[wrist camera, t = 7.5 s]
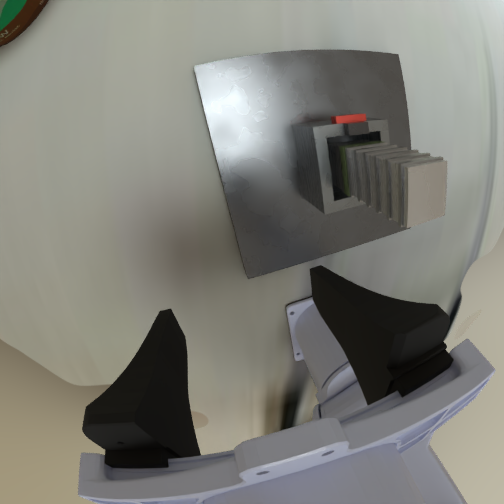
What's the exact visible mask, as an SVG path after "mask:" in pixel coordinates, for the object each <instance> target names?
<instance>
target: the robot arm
mask: <svg viewBox="0 0 504 504" xmlns="http://www.w3.org/2000/svg"><path fill="white" fill-rule="evenodd" d="M310 276H311V286H312V297H311V298H308V299H305V300H302V301H299V302H296V303H293V304H290V305H288V306H287V307H286V312H287V318H288V323H289V329H290V335H291V341H292V347H293V353H294V358H295V360H296V361H300V360H303V359H304V361H305V363H306V366H307V368H308V370H309V372H310V374H311V377H312V379H313V381H314V383H315V385H316V388H317V390H318V393H316V397H317V399H318V401H319V404H317V405H316V406H315V407H314V409H313V417H312V421H310V422H307V423H305V424H302V425H299V426H295V427H292V428H289V429H286V430H282V431H279V432H276V433H272V434H268V435H265V436H261V437H257V438H253V439H250V440H247V441H244V442H242V443H241V444H239V445H238V446H236V447H235V448H234V450H231V451H226V452H220V453H214V454H208V455H201V454H200V450H199V447H198V443H197V439H196V435H195V430H194V426H193V421H192V415H191V410H190V404H189V397H188V361H187V346H186V339H185V335H184V333H183V331H182V330H181V328H180V326H179V324H178V322H177V320H176V318H175V316H174V314H173V312H172V310H171V309H167V310H163V311H160V312H159V314H158V316H157V317H156V319H155V321H154V323H153V325H152V327H151V329H150V331H149V333H148V335H147V336H146V338H145V340H144V342H143V343H142V345H141V347H140V348H139V350H138V352H137V353H136V355H135V357H134V358H133V359H132V361H131V362H130V364H129V365H128V366H127V368H126V369H125V370H124V371H123V373H122V374H121V375H120V376H119V377H118V378H117V380H116V381H115V382H114V383H113V384H112V385H111V386H110V387H109V388H108V389H107V390H106V391H105V392H104V393H103V394H102V395H100V396H99V397H98V398H97V399H95V400H94V401H93V402H92V403H90V404H89V405H88V406H87V407H86V409H85V415H84V421H83V427H82V430H83V432H84V434H85V435H86V437H88V438H89V439H90V440H92V441H93V442H94V443H96V444H98V445H99V446H101V447H102V448H103V449H105V455H102V454H97V453H81V458H80V469H79V486H78V487H79V488H78V495H79V496H80V497H82V498H85V499H87V500H90V501H92V502H95V503H98V504H467V503H466V501H465V499H464V498H463V496H462V494H461V493H460V491H459V490H458V488H457V486H456V485H455V483H454V482H453V480H452V478H451V477H450V475H449V474H448V472H447V471H446V469H445V467H444V466H443V464H442V463H441V461H440V460H439V458H438V457H437V455H436V454H435V452H434V451H433V449H432V448H431V446H430V445H429V442H430V440H431V438H432V435H433V433H434V431H435V430H437V429H438V428H439V427H441V426H442V425H443V424H444V423H446V422H447V421H448V420H449V419H451V418H452V417H453V416H455V415H456V414H457V413H458V412H459V411H461V410H462V409H463V408H464V407H465V406H467V405H468V404H469V403H470V402H471V401H472V400H474V399H475V398H476V397H477V395H478V394H479V393H480V392H481V390H482V389H483V388H484V386H485V385H486V384H487V382H488V381H489V380H490V378H491V377H492V375H493V374H494V373H495V368H494V367H493V366H492V365H491V364H490V363H489V361H488V360H487V359H486V358H485V357H484V356H483V355H482V353H480V351H479V350H478V349H477V348H476V347H475V346H474V345H473V343H472V342H470V340H469V339H466V340H464V341H463V342H462V343H460V344H459V345H457V346H456V347H455V348H453V349H452V350H451V351H450V353H448V352H447V351H446V350H445V349H446V348H447V346H446V344H445V343H444V342H443V340H444V337H445V335H446V332H447V330H448V327H449V322H450V318H449V316H448V315H447V314H446V313H445V312H444V311H443V310H442V309H441V308H440V307H439V306H438V305H437V304H426V303H416V302H409V301H404V300H399V299H395V298H391V297H388V296H384V295H381V294H378V293H376V292H373V291H370V290H368V289H365V288H363V287H361V286H359V285H356V284H354V283H352V282H350V281H348V280H347V279H345V278H343V277H341V276H339V275H337V274H336V273H334V272H332V271H330V270H328V269H327V268H325V267H323V266H321V265H320V266H317V267H314V268H311V269H310ZM291 312H292V313H291Z"/></svg>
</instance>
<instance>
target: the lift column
mask: <svg viewBox="0 0 504 504" xmlns="http://www.w3.org/2000/svg"><path fill="white" fill-rule="evenodd" d="M328 149H329V156H330V164H331V172H332V181H333V185H334V186H336V187H338V188H340V189H342V192H343V193H344V194H346V195H348V196H350V197H356V198H358V201H359V202H362V201H363V202H365V203H367V207H374V208H375V209H376V212H377V213H384V214H385V215H387V219H388V220H391V219H393V220H395V221H396V222H398V226H399V227H406V228H409V227H412V226H415V225H418V224H421V223H424V222H427V221H430V220H433V219H435V218H438V217H441V216H444V215H445V205H446V189H447V161H445V160H443V157H432V156H430V153H419V152H418V150H408V149H407V147H397V145H396V144H392V145H388V144H387V142H384V141H378V140H374V141H369V140H365V139H361V140H353V141H346V142H340V143H333V144H328Z"/></svg>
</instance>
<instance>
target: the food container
mask: <svg viewBox="0 0 504 504" xmlns="http://www.w3.org/2000/svg"><path fill="white" fill-rule="evenodd" d="M47 2H48V0H0V46H2V45H5V44H7V43H9V42H11V41H12V40H14V39H15V38H16V37H18V36H19V35H20V34H21V33H22V32H23V31H25V29H26V28H27V27H28V26H29V25H30V24H31V23H32V22H33V21H34V20H35V19H36V17H37V16H38V15H39V14H40V12H41V11H42V10H43V8H44V7H45V5H46V4H47Z"/></svg>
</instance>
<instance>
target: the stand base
mask: <svg viewBox="0 0 504 504" xmlns="http://www.w3.org/2000/svg"><path fill="white" fill-rule="evenodd" d="M194 72H195V76H196V80H197V84H198V89H199V93H200V97H201V101H202V105H203V109H204V113H205V117H206V121H207V125H208V129H209V133H210V137H211V141H212V145H213V149H214V153H215V157H216V161H217V165H218V169H219V173H220V176H221V180H222V184H223V188H224V192H225V196H226V200H227V204H228V207H229V211H230V215H231V219H232V223H233V227H234V230H235V234H236V238H237V242H238V245H239V249H240V253H241V257H242V261H243V264H244V268H245V272H246V275H247V278H248V279H250V278H254V277H257V276H261V275H264V274H267V273H271V272H274V271H277V270H281V269H284V268H287V267H291V266H294V265H297V264H301V263H304V262H307V261H310V260H314V259H317V258H320V257H323V256H326V255H330V254H333V253H336V252H339V251H342V250H345V249H348V248H352V247H355V246H358V245H361V244H364V243H367V242H370V241H373V240H376V239H379V238H382V237H385V236H388V235H391V234H394V233H397V232H400V231H403V230H406V229H409V228H411V227H409V228H406V227H399V226H398V222H396V221H395V220H393V219H391V220H388V219H387V215H385V214H384V213H377V212H376V209H375V208H374V207H367V203H365V202H363V201H362V202H359V201H358V198H356V197H350V196H348V195H346V194H344V193H343V192H342V189H340V188H338V187H336V186H334V185H333V181H332V172H331V164H330V156H329V149H328V144H333V143H340V142H346V141H353V140H361V139H365V140H369V141H374V140H378V141H384V142H387V144H388V145H392V144H396V145H397V147H407V149H408V150H411V140H410V128H409V117H408V109H407V101H406V94H405V87H404V81H403V75H402V70H401V65H400V60H399V56H398V54H391V53H382V52H372V51H358V50H298V51H284V52H273V53H264V54H256V55H249V56H242V57H236V58H230V59H225V60H220V61H215V62H210V63H206V64H201V65H197V66H194Z"/></svg>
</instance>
